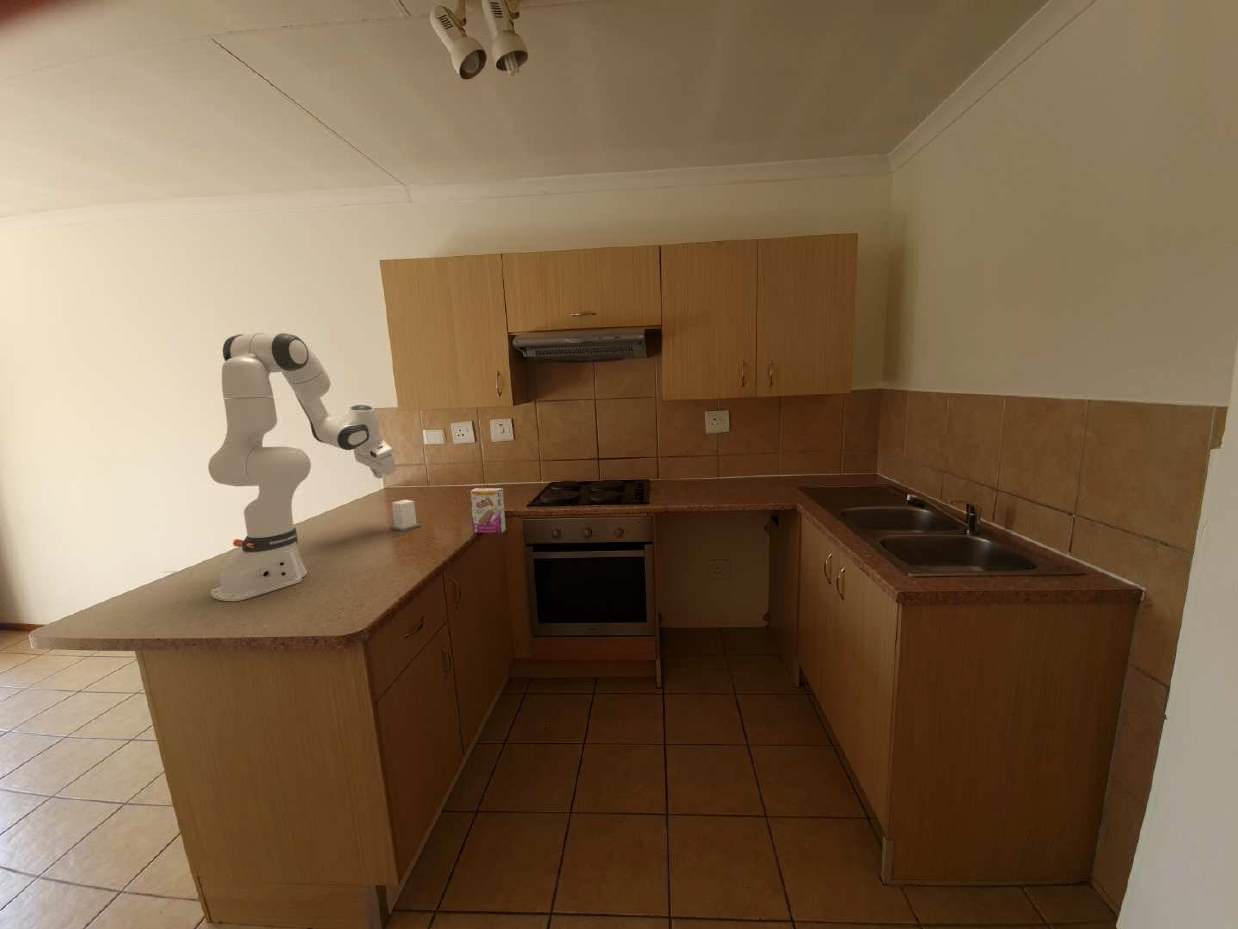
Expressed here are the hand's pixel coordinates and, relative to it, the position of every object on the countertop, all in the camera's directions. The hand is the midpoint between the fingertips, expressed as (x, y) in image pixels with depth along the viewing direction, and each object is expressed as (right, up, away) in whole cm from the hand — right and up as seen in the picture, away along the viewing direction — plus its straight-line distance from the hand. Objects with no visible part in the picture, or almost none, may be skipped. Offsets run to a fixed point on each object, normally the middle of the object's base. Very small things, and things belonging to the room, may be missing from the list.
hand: (378, 477), depth 189 cm
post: (+10, -20, +1) cm, 22 cm away
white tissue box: (+10, -19, +1) cm, 22 cm away
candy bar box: (+46, -21, -8) cm, 51 cm away
